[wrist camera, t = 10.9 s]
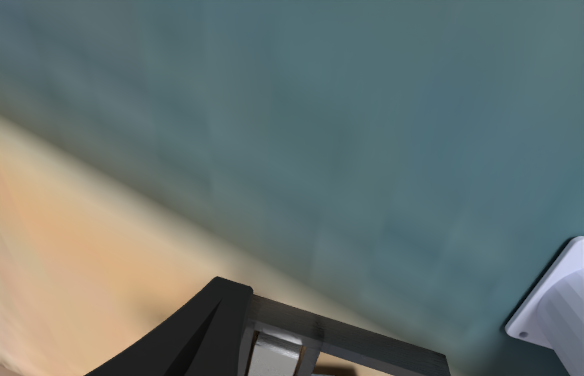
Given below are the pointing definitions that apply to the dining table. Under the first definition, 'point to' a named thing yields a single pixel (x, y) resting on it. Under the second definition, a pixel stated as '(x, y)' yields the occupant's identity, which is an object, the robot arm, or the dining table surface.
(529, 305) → the robot arm
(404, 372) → the frame
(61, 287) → the dining table surface
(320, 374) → the brushed metal pillar
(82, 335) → the dining table surface
